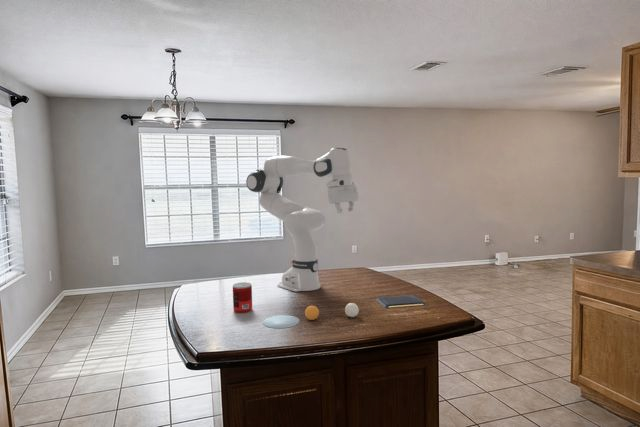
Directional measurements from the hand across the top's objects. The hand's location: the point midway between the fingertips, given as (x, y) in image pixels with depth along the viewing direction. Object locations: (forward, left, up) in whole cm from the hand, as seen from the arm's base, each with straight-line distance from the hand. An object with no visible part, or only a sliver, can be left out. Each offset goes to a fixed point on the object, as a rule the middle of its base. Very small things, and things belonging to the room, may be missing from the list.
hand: (345, 212), depth 195 cm
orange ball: (+7, -36, -36) cm, 52 cm away
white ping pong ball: (+18, -25, -36) cm, 48 cm away
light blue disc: (-2, -45, -39) cm, 60 cm away
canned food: (-25, -43, -39) cm, 63 cm away
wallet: (+26, +3, -40) cm, 48 cm away
